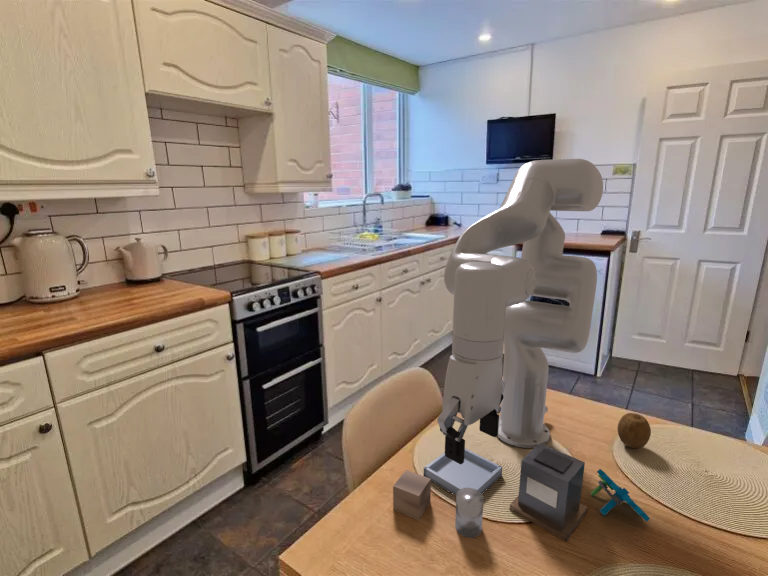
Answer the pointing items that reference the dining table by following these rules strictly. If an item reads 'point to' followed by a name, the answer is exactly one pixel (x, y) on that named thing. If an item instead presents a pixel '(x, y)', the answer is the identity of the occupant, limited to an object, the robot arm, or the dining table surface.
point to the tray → (463, 472)
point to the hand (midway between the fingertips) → (472, 446)
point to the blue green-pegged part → (616, 495)
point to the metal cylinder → (469, 512)
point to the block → (411, 494)
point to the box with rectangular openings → (551, 491)
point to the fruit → (634, 430)
